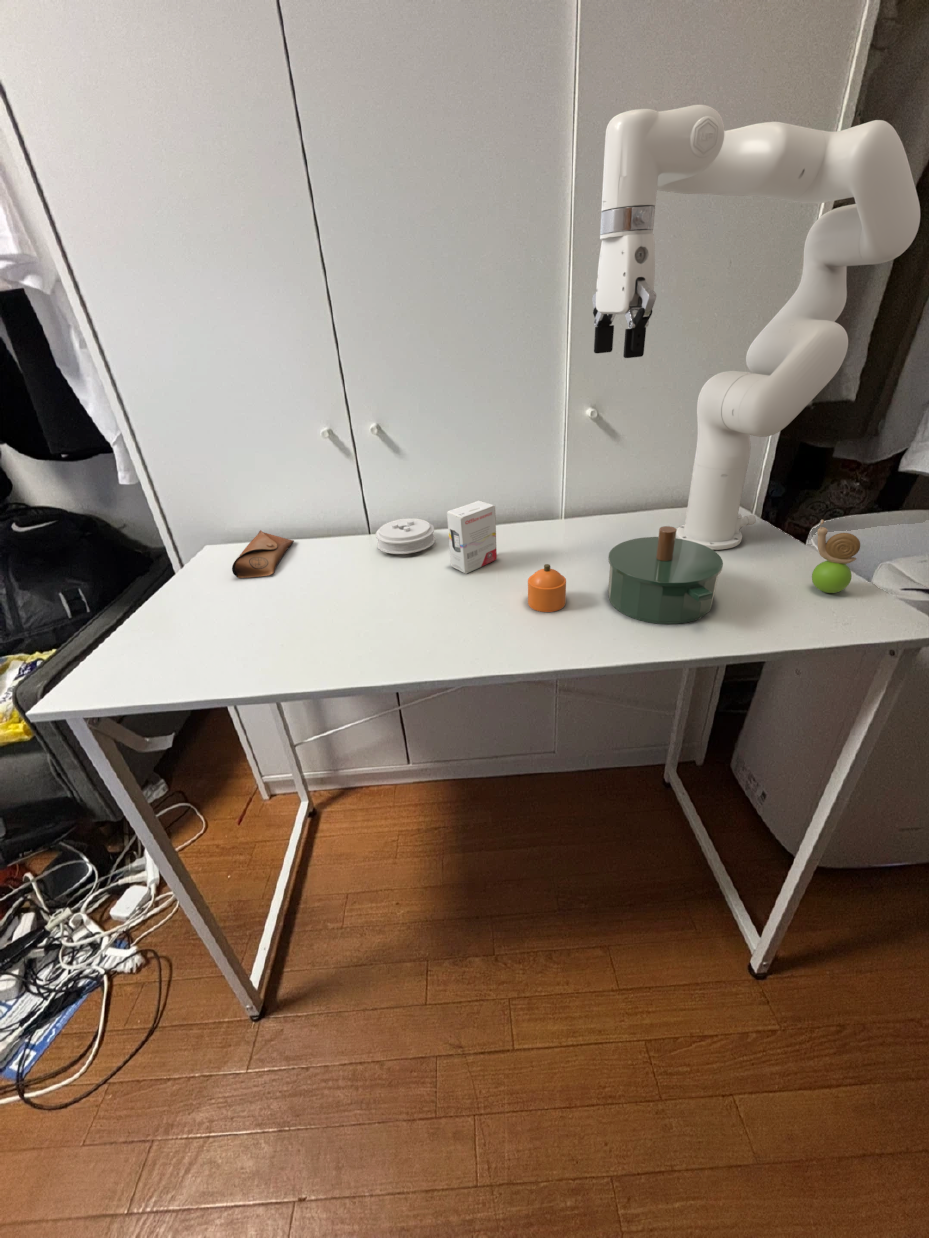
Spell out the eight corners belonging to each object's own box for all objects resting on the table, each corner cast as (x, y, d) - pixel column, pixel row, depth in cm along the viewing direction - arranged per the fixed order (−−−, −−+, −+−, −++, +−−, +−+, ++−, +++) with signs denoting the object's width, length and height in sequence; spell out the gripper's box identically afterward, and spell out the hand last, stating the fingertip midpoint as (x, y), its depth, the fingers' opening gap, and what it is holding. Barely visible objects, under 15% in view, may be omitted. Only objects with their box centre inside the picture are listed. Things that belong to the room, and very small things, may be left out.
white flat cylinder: (440, 534, 124) (438, 513, 121) (429, 558, 113) (426, 535, 110) (386, 535, 126) (383, 514, 123) (370, 558, 115) (367, 536, 113)
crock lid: (678, 536, 98) (682, 503, 95) (746, 577, 84) (755, 539, 81) (589, 553, 95) (591, 519, 92) (645, 598, 80) (649, 560, 77)
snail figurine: (802, 580, 95) (821, 514, 88) (846, 587, 92) (868, 519, 85) (800, 593, 91) (819, 526, 85) (845, 601, 88) (869, 532, 82)
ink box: (482, 553, 113) (479, 499, 107) (498, 561, 110) (496, 504, 104) (449, 567, 109) (444, 510, 103) (465, 575, 105) (461, 517, 99)
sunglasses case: (275, 573, 110) (250, 549, 107) (250, 591, 112) (225, 567, 109) (295, 539, 126) (275, 517, 123) (273, 555, 128) (252, 534, 125)
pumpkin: (556, 591, 97) (556, 554, 94) (571, 607, 92) (573, 569, 88) (522, 598, 96) (522, 561, 92) (536, 615, 91) (536, 576, 87)
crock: (664, 564, 103) (668, 529, 100) (745, 620, 85) (755, 580, 81) (584, 580, 100) (586, 545, 96) (651, 641, 82) (657, 601, 78)
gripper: (685, 216, 73) (668, 357, 82) (620, 231, 87) (612, 349, 96) (635, 219, 72) (623, 361, 80) (577, 233, 86) (573, 353, 95)
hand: (617, 354), depth 88 cm, fingers open, 9 cm apart
